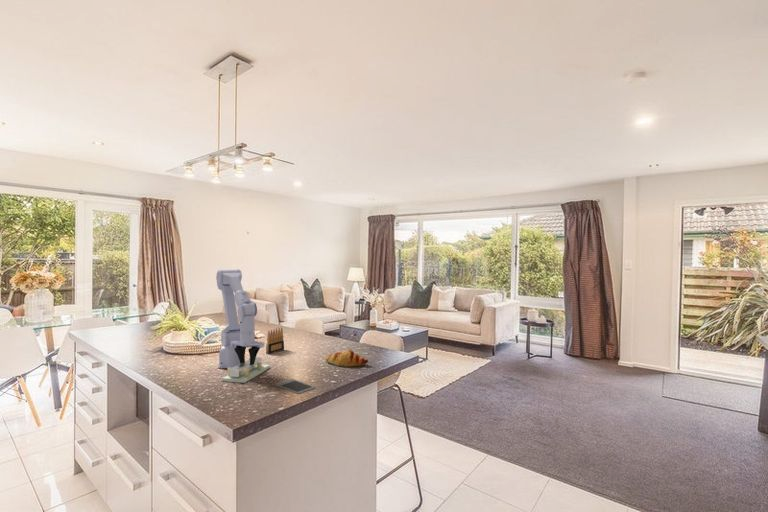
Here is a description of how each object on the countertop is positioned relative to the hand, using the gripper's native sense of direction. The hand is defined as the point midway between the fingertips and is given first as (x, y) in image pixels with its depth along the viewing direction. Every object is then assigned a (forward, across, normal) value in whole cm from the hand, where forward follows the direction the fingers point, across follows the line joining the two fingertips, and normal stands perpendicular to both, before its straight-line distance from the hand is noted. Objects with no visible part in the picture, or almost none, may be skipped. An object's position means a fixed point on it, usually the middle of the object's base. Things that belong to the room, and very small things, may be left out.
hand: (247, 364), depth 152 cm
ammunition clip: (+4, -6, +36) cm, 37 cm away
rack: (+4, 0, 0) cm, 4 cm away
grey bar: (+2, 0, 0) cm, 2 cm away
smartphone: (+5, +26, -10) cm, 28 cm away
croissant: (+5, +37, +22) cm, 43 cm away
